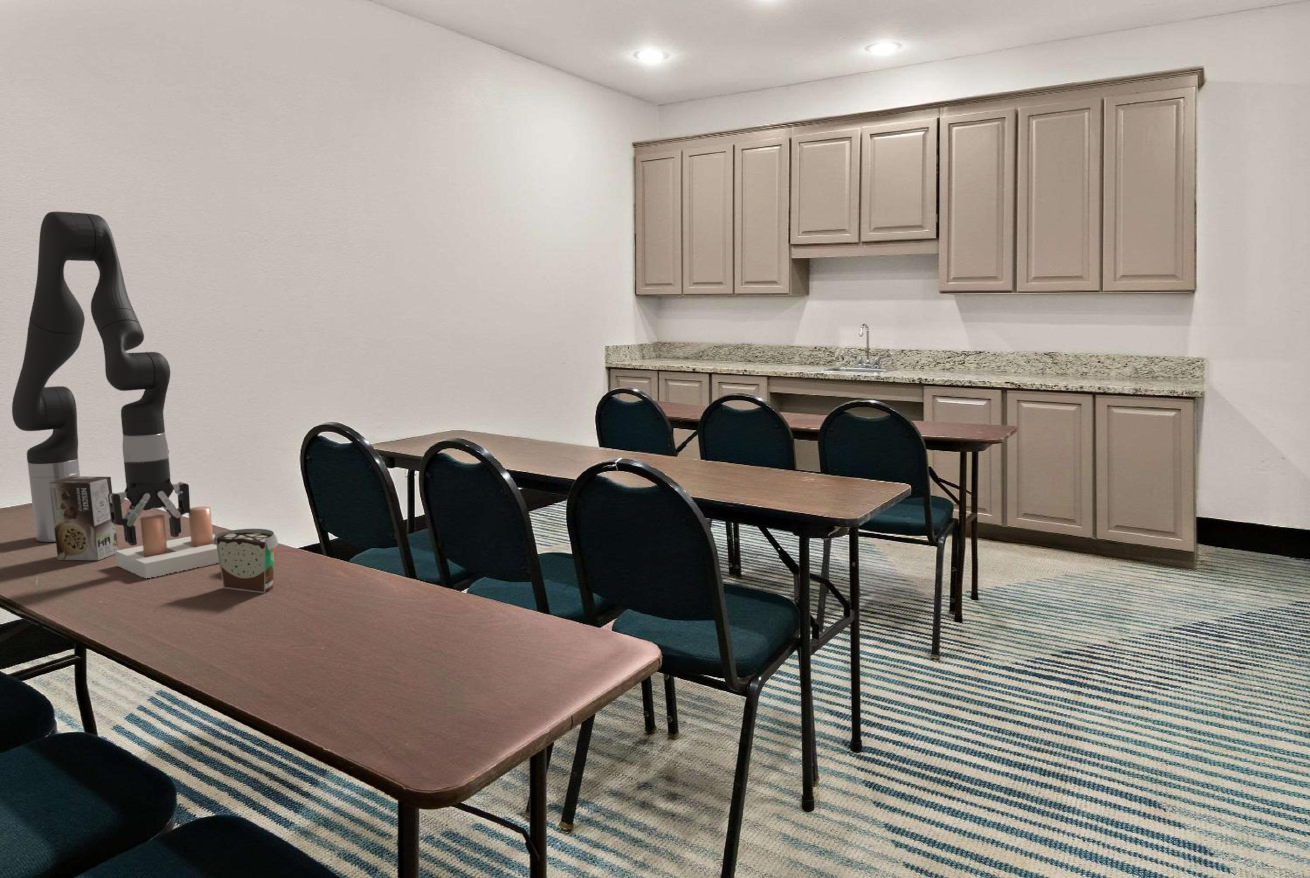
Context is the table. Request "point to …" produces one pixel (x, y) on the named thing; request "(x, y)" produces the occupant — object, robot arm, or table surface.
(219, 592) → the table surface
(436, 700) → the table surface
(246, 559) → the food container
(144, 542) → the pin
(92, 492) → the coffee box
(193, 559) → the pin board
